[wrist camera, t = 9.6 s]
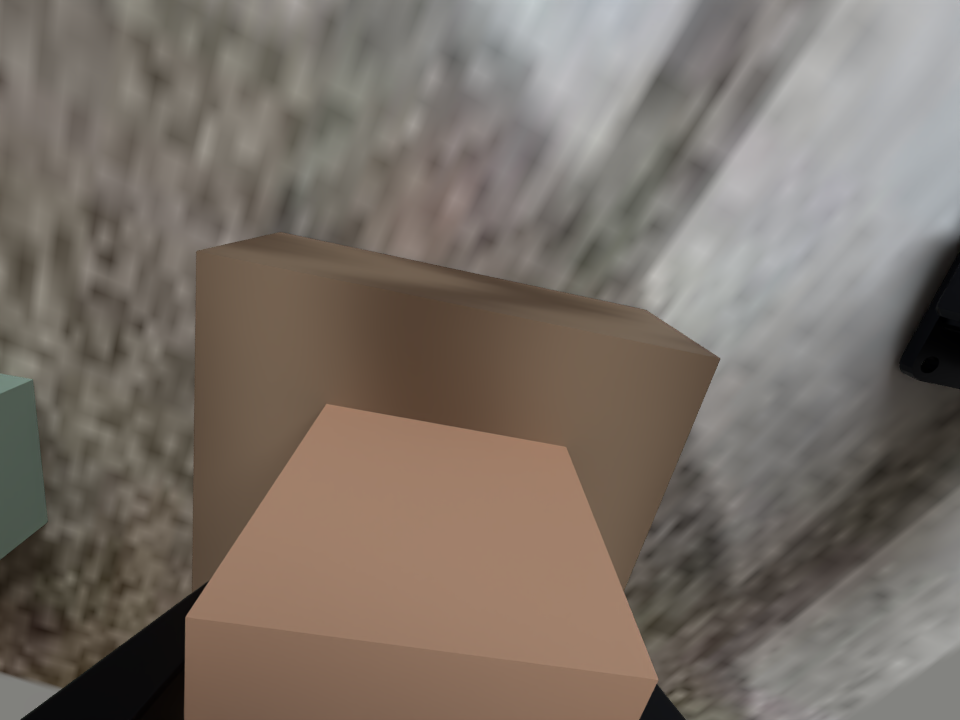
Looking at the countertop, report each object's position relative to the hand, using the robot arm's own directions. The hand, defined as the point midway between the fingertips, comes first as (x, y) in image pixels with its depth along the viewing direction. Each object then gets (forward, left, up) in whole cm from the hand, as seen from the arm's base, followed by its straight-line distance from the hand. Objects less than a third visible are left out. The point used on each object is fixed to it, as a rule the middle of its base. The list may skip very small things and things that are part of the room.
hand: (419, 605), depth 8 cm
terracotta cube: (0, 0, -2) cm, 2 cm away
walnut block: (0, 0, -6) cm, 6 cm away
